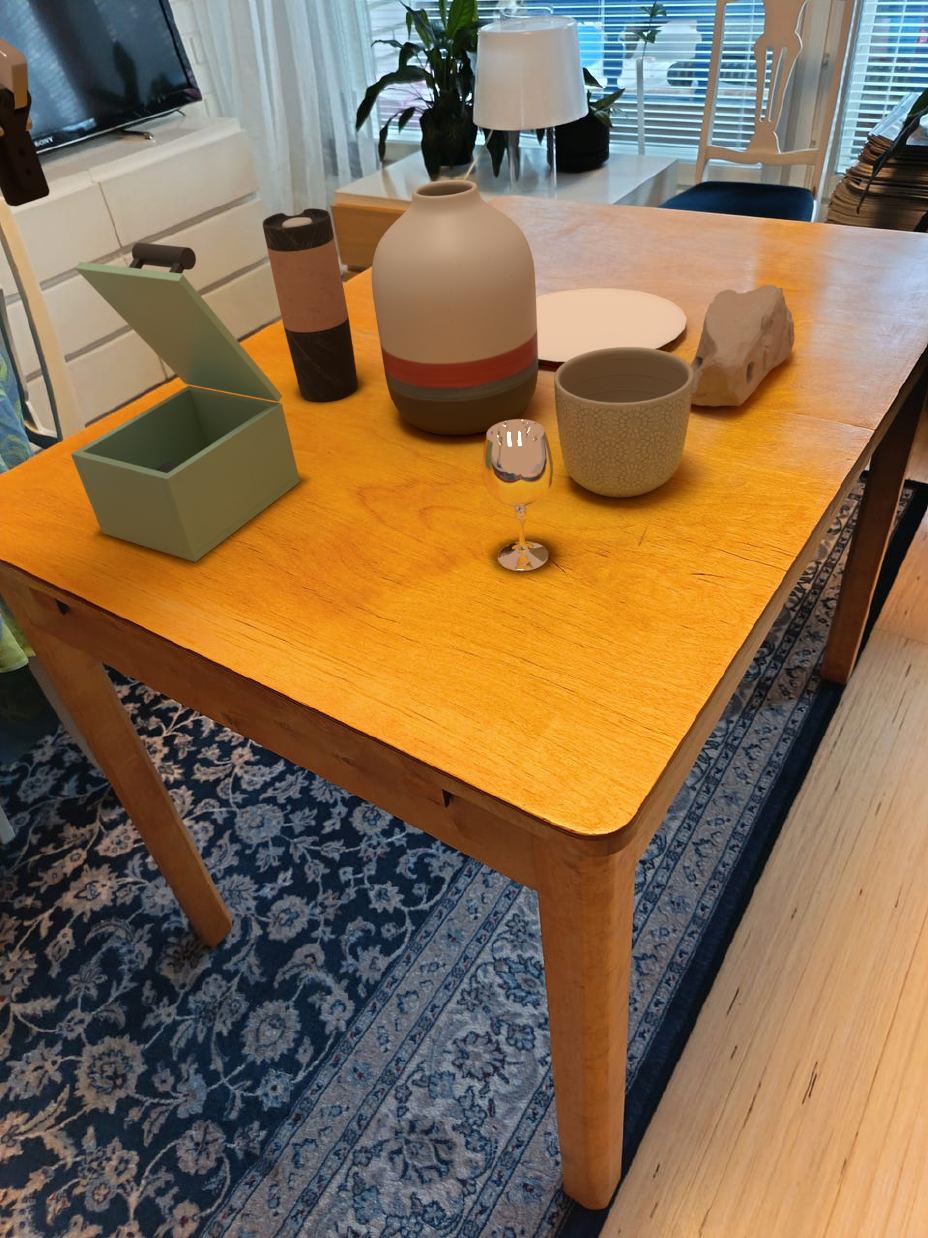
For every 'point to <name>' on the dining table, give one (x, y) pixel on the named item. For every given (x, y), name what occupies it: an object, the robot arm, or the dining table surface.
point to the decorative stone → (740, 345)
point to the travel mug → (312, 303)
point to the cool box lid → (178, 320)
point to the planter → (623, 418)
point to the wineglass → (518, 481)
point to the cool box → (188, 470)
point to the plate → (603, 322)
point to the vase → (456, 312)
